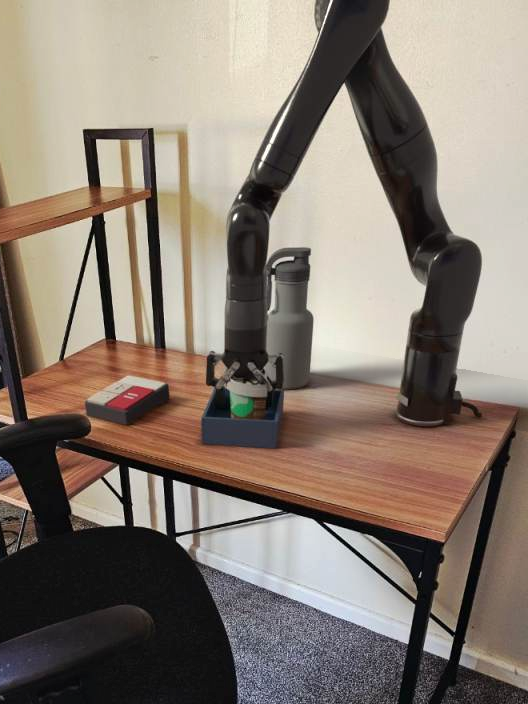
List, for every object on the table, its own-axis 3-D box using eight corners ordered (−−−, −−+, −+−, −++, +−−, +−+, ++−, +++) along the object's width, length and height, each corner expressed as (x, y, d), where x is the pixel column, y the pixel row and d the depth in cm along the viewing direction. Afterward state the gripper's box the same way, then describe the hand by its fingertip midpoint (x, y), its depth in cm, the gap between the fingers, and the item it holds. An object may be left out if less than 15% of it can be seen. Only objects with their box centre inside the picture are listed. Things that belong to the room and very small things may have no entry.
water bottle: (259, 389, 153) (264, 254, 138) (264, 373, 161) (268, 244, 146) (308, 391, 150) (317, 254, 136) (310, 375, 158) (319, 244, 144)
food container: (219, 414, 141) (219, 365, 136) (249, 411, 141) (251, 363, 136) (232, 440, 130) (233, 389, 125) (265, 437, 131) (267, 385, 125)
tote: (282, 415, 141) (284, 389, 138) (276, 448, 128) (277, 421, 125) (214, 411, 144) (214, 387, 141) (201, 444, 131) (201, 417, 129)
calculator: (83, 398, 144) (127, 372, 154) (85, 417, 146) (129, 390, 156) (125, 408, 138) (169, 380, 148) (128, 428, 141) (170, 399, 150)
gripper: (202, 327, 124) (203, 413, 132) (284, 329, 121) (280, 417, 129) (209, 315, 130) (210, 398, 138) (288, 316, 127) (283, 401, 135)
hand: (244, 407), depth 134 cm, fingers open, 8 cm apart
